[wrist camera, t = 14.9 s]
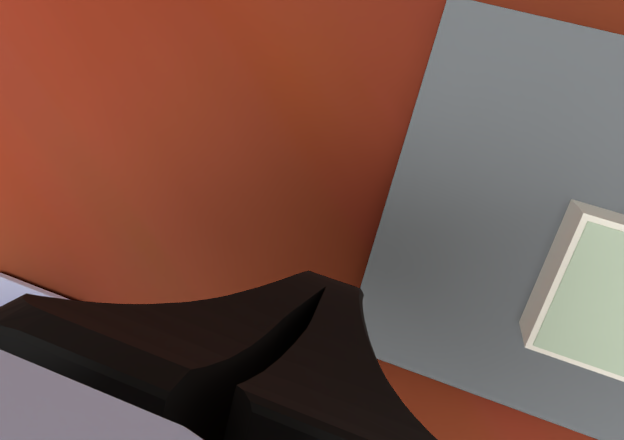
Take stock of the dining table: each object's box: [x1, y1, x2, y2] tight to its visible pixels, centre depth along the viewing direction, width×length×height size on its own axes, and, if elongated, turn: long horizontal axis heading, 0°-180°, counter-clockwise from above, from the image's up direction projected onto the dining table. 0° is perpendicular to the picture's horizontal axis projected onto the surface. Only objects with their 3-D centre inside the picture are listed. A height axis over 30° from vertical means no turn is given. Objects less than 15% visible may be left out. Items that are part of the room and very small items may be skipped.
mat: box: [360, 0, 624, 440], centre depth 19 cm, size 14×14×1 cm
